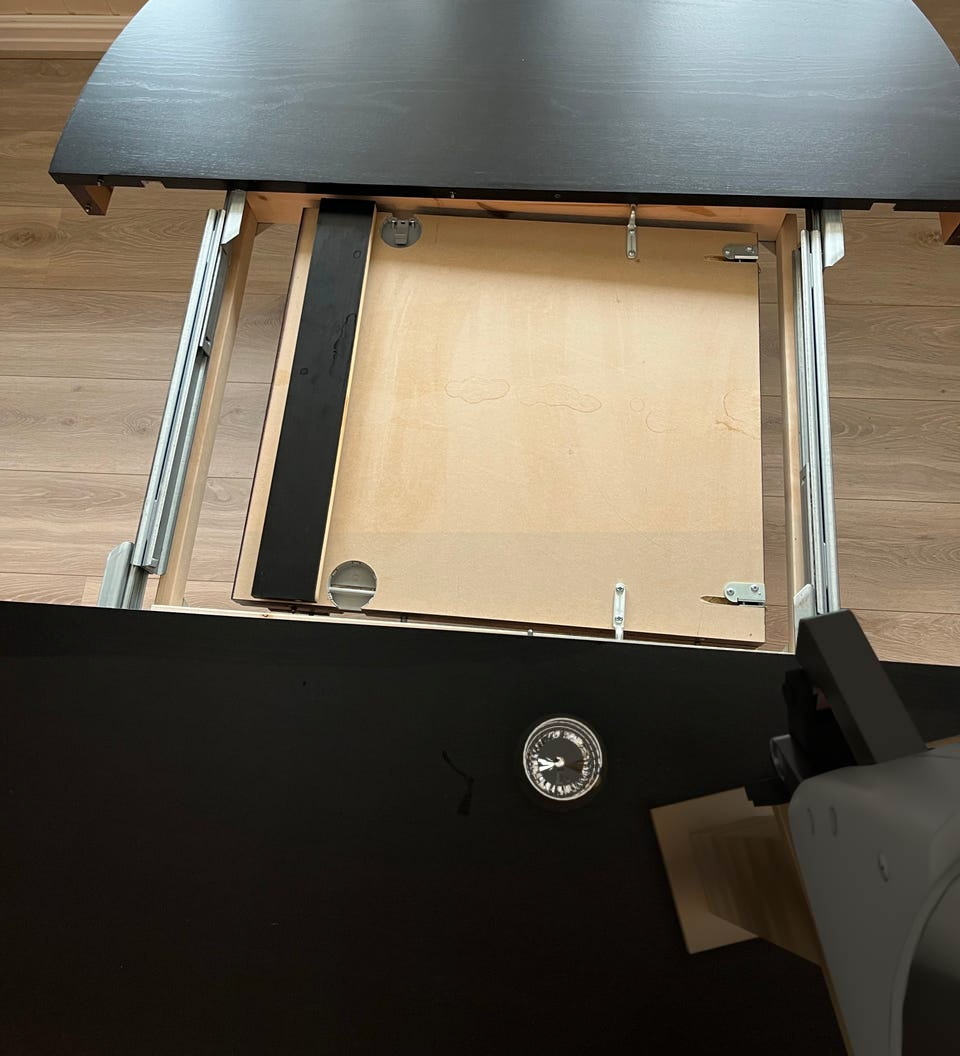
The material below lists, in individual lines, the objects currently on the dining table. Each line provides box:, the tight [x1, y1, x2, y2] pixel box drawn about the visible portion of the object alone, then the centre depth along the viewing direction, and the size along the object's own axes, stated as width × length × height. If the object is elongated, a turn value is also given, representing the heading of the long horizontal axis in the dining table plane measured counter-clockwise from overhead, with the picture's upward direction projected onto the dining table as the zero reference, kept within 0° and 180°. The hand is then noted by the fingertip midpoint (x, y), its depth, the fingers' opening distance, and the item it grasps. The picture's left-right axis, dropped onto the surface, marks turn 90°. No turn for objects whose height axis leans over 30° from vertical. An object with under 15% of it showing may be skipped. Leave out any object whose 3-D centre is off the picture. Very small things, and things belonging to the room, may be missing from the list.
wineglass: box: [513, 712, 609, 812], centre depth 68 cm, size 6×6×12 cm
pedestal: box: [649, 734, 960, 1056], centre depth 52 cm, size 10×10×41 cm
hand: (846, 955), depth 31 cm, fingers open, 9 cm apart
